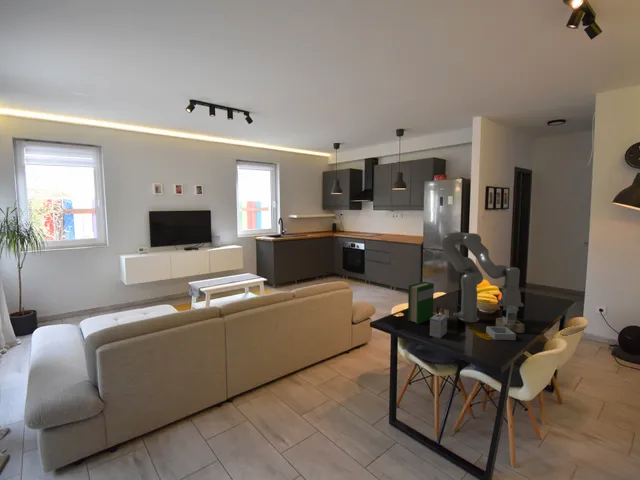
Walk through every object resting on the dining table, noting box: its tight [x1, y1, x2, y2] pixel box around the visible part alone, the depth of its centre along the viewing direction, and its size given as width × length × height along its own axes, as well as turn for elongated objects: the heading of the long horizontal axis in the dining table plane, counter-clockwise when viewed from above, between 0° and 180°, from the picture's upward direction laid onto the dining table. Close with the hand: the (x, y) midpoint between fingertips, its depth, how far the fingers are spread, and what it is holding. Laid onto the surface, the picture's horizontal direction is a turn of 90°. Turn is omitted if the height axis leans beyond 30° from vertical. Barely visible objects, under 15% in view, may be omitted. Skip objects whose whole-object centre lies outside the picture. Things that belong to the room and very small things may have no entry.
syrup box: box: [501, 305, 518, 324], centre depth 204 cm, size 6×6×14 cm
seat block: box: [485, 326, 517, 341], centre depth 193 cm, size 11×11×4 cm
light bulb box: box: [429, 313, 448, 339], centre depth 197 cm, size 11×7×11 cm, turn 141°
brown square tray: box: [495, 317, 526, 334], centre depth 204 cm, size 11×11×5 cm
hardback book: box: [407, 281, 435, 325], centre depth 221 cm, size 18×7×24 cm, turn 130°
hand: (509, 316), depth 204 cm, fingers closed on syrup box, 6 cm apart
